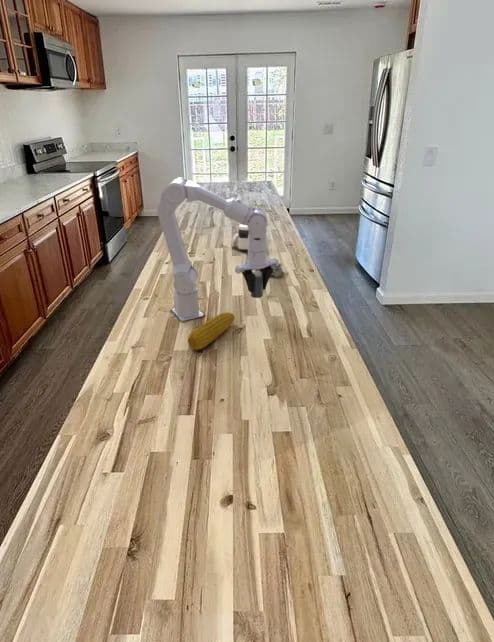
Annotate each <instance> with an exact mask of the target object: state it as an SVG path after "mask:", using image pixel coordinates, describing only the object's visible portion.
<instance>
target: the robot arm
mask: <svg viewBox="0 0 494 642" xmlns="http://www.w3.org/2000/svg"><path fill="white" fill-rule="evenodd" d="M185 200H186V203H190V202H191V203H192V202H195V201H199V202H201V203H204V204H207V205H209V206H211V207H214V208H216V209H219V210H221V211H222V212H223V214H224V217H225V218H228V219H230V220H232V221H234V222H237V223H238V224H243V225H247V226H248V228H249V235H248V252H247V261H246V262H244V263H241V264H238V265H235V266H234V272H235V273H236V274H238V275H240V274H242V276H243V279H244V280H245V283H246V287H247V290H248V292H249V293H250V294H251V293H252V292H253V283H254V277H255V274H253V272H254V271H256V269H259V270H260V272H262V274H263V291H265V290H266V289H267V286H268V282H269V279H270V278H271V277H272V276H271V274H272V273H273V269H272V268H271V266H279V263H280V260H279V259H278V258H267V255H268V253H267V250H268V249H267V248H268V247H267V245H268V235H267V233H268V232H267V231H268V230H267V228H268V215H267V213H266V212H265V211H264V210H263V209H262V208H260V207H256V206H254V205H252V206H251V205H248V204H246V203H244V202H242V199H240V198H239V197H238V198H237V199H235V198H230V199H226V198H224V197H222V196H221V195H218V194H216V193H214V192H213V191H211V190H209V189H208V188H206V187H203V186H202V185H200V184H197V183H196V182H194V181H193V180H187V179H186V178H184V177H176V178H173V179H172V180H171V181H170V183H168V184H167V185H166V186H165V187H164V189H163V190H162V191H161V193H160V199H159V202H158V206H157V209H156V212H157V216H158V219H159V223H160V225H161V230H162V233H163V236H164V239H165V243H166V246H167V249H168V252H169V256H170V258H171V263H172V266H173V272H172V273H173V278H174V282H173V287H174V289H173V293H172V294H173V295H172V296H173V307H174V308H172V309H171V311H172V312H173V314H174V315H175V316H176V317H177V318H178V319H179V321H181V322H185V321H189V320H193V319H197V318H202V317H204V313H203V312H202V311H201V310H200V301H199V287H198V286H197V284H196V282H197V280H198V276H199V275H198V274H199V273H198V271H197V270H196V268H195V267H194V266H193V263H192V261H191V260H190V259H189V256H188V252H187V250H186V246H185V243H184V239H183V236H182V232H181V229H180V224H179V222H178V218H177V214H176V211H177V209H178V207H179V206H180V205H182V204H183V203H184V202H185Z"/></svg>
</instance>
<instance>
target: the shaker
mask: <svg viewBox="0 0 494 642" xmlns="http://www.w3.org/2000/svg"><path fill="white" fill-rule="evenodd" d="M252 272H253V274H255V277H254V283H253V292H252V293H251V292H250V297H251V298H255V299H260V298H263V297H264V290H263V274H262V272H260V271H256V270H253V271H252Z"/></svg>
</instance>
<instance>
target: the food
mask: <svg viewBox="0 0 494 642" xmlns="http://www.w3.org/2000/svg"><path fill="white" fill-rule="evenodd" d="M234 321H235V315H234V313H232V312H227V311H226V312H223V313H219V314H217V315H216V316H214V317H212V318H211V319H209V320H208V321H205V322H204V323H203V324H201V325H200V326H198V327H197V328H195V329H193V330H192V331H191V332H190V333H189V335H188V338H187V343H188V346H189V348H190V349H192V350H194V351H198V350H202V349H204V348H206V347H207V346H208V345H209V344H211V343H212V342H214V341H215V340H216V339H217V338H218V337H220V335H222V334H223V333H224V332H225V331H226V330H227V329H228V328H230V326H231V325H233V323H234Z"/></svg>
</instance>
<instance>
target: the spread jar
mask: <svg viewBox="0 0 494 642" xmlns="http://www.w3.org/2000/svg"><path fill="white" fill-rule="evenodd" d="M248 235H249V228H248V226H247V225H243V224H241V223H239V225H238V232H236V233H235V234H234V235H233V237H232V238H231V240H230V247H231V248H233V249H234V248H236V247H237V248H238V250H239V251H240V252H242V253H243V252H244V253H248ZM237 245H238V246H237Z"/></svg>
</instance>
